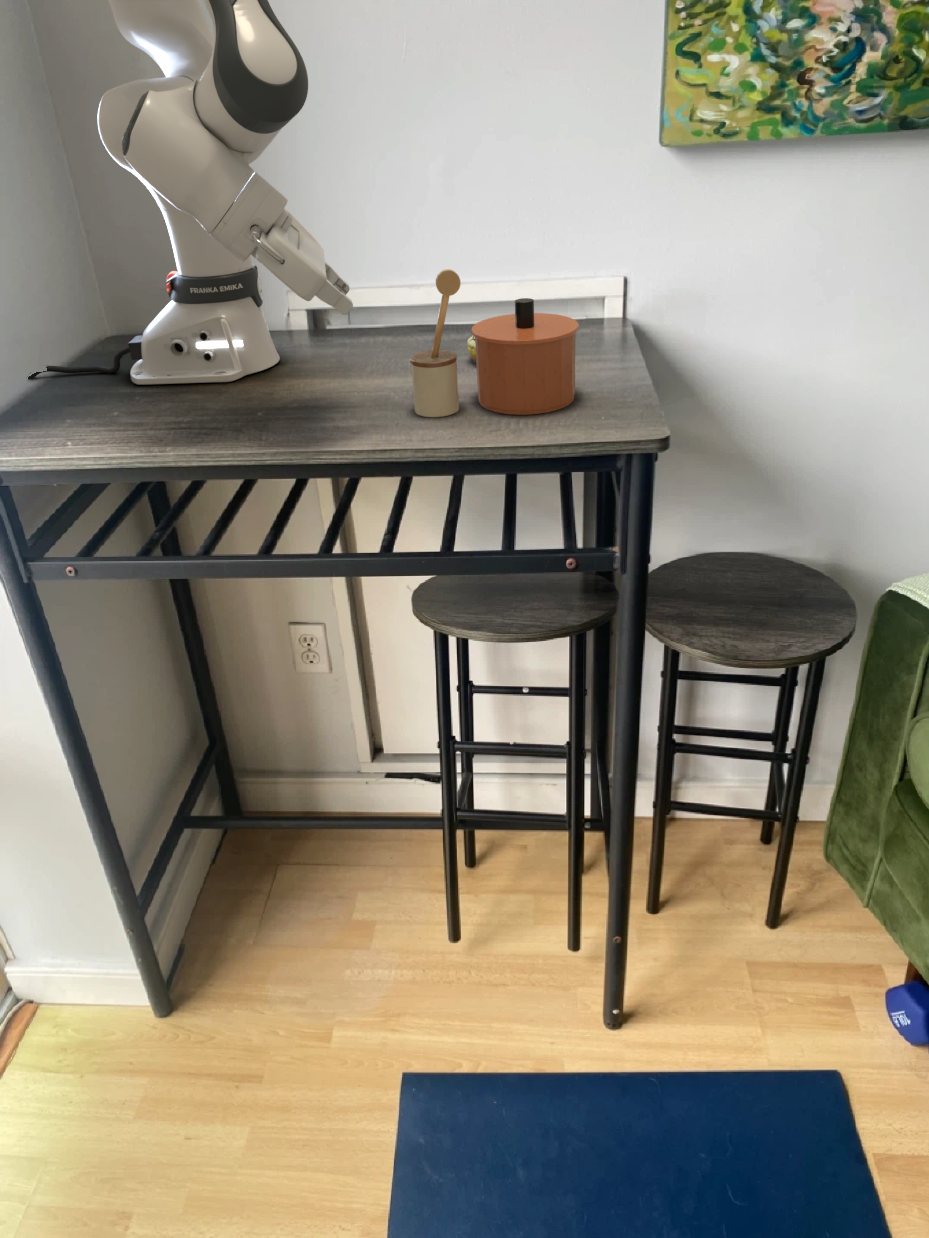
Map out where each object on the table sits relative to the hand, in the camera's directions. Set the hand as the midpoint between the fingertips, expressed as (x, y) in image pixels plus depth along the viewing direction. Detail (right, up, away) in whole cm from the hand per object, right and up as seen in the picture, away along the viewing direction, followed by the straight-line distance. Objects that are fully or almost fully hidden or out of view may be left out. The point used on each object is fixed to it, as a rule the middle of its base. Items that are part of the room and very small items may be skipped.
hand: (348, 301), depth 115 cm
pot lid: (+22, -2, +5) cm, 23 cm away
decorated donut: (+20, 0, +26) cm, 33 cm away
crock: (+11, -12, +8) cm, 18 cm away
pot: (+22, -10, +10) cm, 26 cm away
